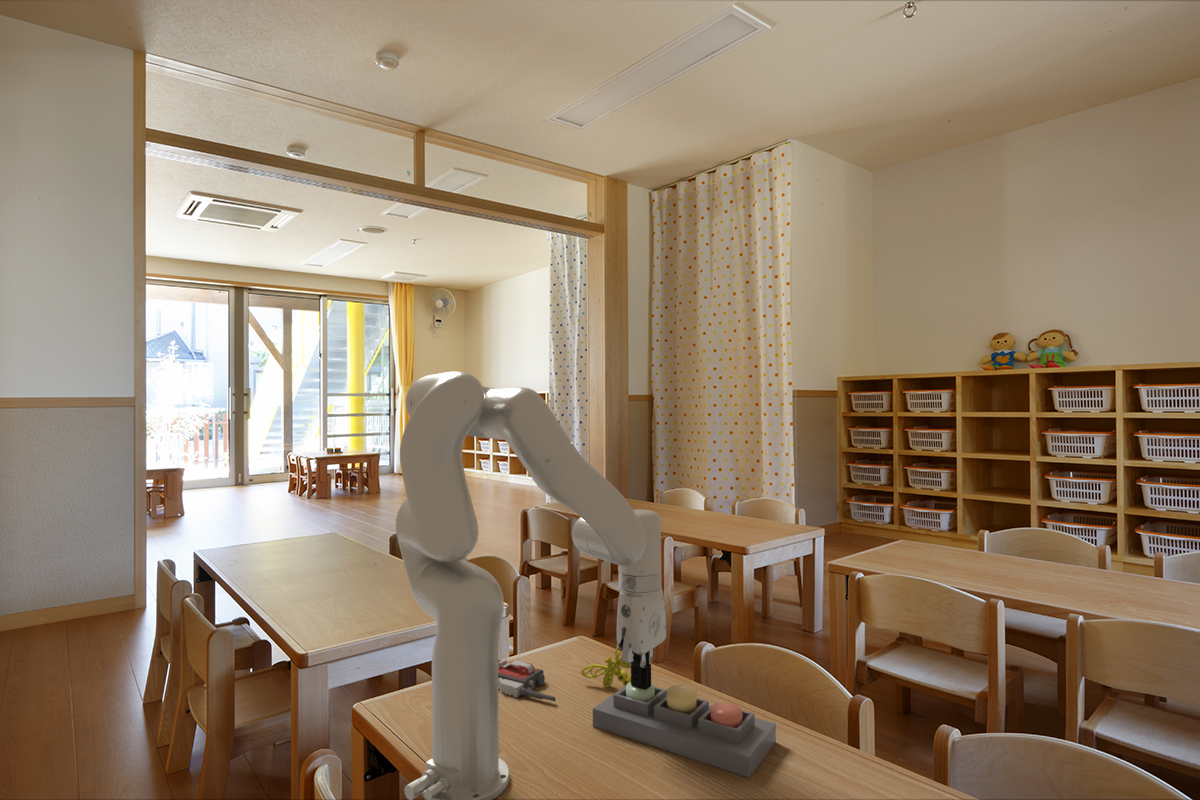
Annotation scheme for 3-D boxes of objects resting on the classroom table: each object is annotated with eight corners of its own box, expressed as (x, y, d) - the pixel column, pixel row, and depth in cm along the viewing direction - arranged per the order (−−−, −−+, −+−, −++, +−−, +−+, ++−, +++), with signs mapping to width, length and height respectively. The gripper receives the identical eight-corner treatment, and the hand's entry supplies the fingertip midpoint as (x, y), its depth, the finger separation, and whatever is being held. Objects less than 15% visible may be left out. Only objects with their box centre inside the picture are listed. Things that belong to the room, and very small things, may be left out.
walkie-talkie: (468, 686, 126) (551, 709, 116) (468, 664, 126) (551, 685, 116) (496, 671, 134) (577, 691, 124) (496, 649, 134) (576, 668, 124)
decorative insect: (610, 715, 123) (578, 672, 126) (615, 708, 126) (584, 666, 129) (659, 677, 120) (625, 634, 123) (662, 671, 123) (629, 628, 126)
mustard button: (688, 716, 103) (688, 701, 103) (661, 708, 106) (661, 693, 106) (701, 704, 107) (701, 689, 107) (675, 697, 110) (674, 682, 110)
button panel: (749, 777, 93) (749, 743, 93) (592, 726, 109) (592, 696, 109) (775, 742, 103) (775, 711, 103) (628, 699, 119) (628, 672, 119)
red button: (735, 737, 98) (735, 720, 98) (705, 728, 101) (705, 712, 101) (747, 723, 102) (747, 708, 102) (718, 715, 105) (718, 700, 105)
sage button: (645, 710, 107) (645, 695, 107) (620, 703, 110) (620, 688, 110) (659, 699, 111) (659, 684, 111) (635, 692, 114) (635, 678, 114)
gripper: (636, 595, 103) (638, 709, 102) (678, 574, 115) (679, 676, 115) (598, 588, 107) (599, 697, 107) (642, 569, 119) (643, 667, 119)
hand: (641, 686), depth 111 cm, fingers closed
